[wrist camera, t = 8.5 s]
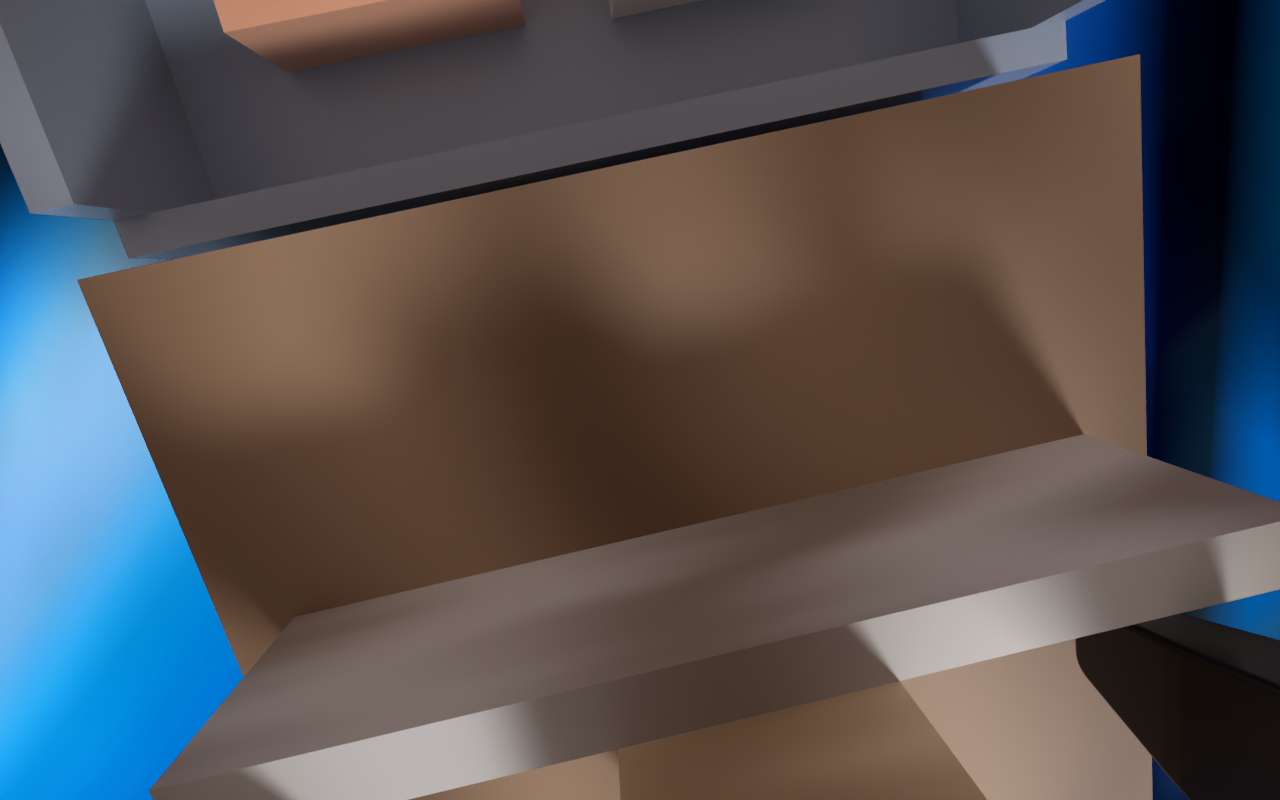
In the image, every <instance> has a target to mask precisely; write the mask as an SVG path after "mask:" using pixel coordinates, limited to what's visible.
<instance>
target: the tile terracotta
mask: <svg viewBox="0 0 1280 800" xmlns="http://www.w3.org/2000/svg"><path fill="white" fill-rule="evenodd" d="M213 1H214V4H215V7H216V10H217V13H218V16H219V19H220V22H221V25H222V28H223V31H224V33H225V34H227V35H229V36H230V37H232V38H233V39H235V40H237V41H238V42H240V43H241V44H243V45H245V46H246V47H248V48H249V49H251V50H253V51H254V52H256V53H257V54H259V55H261V56H262V57H264V58H265V59H267V60H269V61H270V62H272V63H273V64H275V65H276V66H278V67H280V68H281V69H283V70H284V71H286V72H291V71H296V70H301V69H306V68H311V67H316V66H321V65H326V64H331V63H336V62H341V61H346V60H351V59H356V58H361V57H366V56H371V55H376V54H381V53H386V52H391V51H396V50H401V49H406V48H411V47H416V46H421V45H426V44H431V43H436V42H441V41H446V40H451V39H456V38H461V37H466V36H471V35H476V34H481V33H486V32H491V31H496V30H501V29H506V28H511V27H516V26H521V25H526V23H525V18H524V14H523V9H522V5H521V0H213Z"/></svg>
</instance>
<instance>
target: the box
mask: <svg viewBox="0 0 1280 800" xmlns="http://www.w3.org/2000/svg"><path fill="white" fill-rule="evenodd" d="M1103 1H1105V0H701V1H696V2H691V3H687V4H682V5H677V6H672V7H667V8H663V9H658V10H653V11H648V12H643V13H638V14H634V15H629V16H624V17H619V18H614V19H612V17H611V12H610V7H609V2H608V0H521V5H522V9H523V14H524V18H525V23H526V25H521V26H516V27H511V28H506V29H501V30H496V31H491V32H486V33H481V34H476V35H471V36H466V37H461V38H456V39H451V40H446V41H441V42H436V43H431V44H426V45H421V46H416V47H411V48H406V49H401V50H396V51H391V52H386V53H381V54H376V55H371V56H366V57H361V58H356V59H351V60H346V61H341V62H336V63H331V64H326V65H321V66H316V67H311V68H306V69H301V70H296V71H291V72H286V71H284V70H283V69H281V68H280V67H278V66H276V65H275V64H273V63H272V62H270V61H269V60H267V59H265V58H264V57H262V56H261V55H259V54H257V53H256V52H254V51H253V50H251V49H249V48H248V47H246V46H245V45H243V44H241V43H240V42H238V41H237V40H235V39H233V38H232V37H230V36H229V35H227V34H225V33H224V31H223V28H222V25H221V22H220V19H219V16H218V13H217V10H216V7H215V4H214V1H213V0H0V144H1V146H2V148H3V151H4V153H5V156H6V158H7V160H8V163H9V165H10V167H11V170H12V172H13V174H14V177H15V179H16V181H17V184H18V186H19V188H20V191H21V193H22V195H23V198H24V200H25V202H26V205H27V207H28V209H29V212H30V213H32V214H43V215H55V216H66V217H77V218H88V219H100V220H111V221H114V223H115V225H116V228H117V230H118V233H119V235H120V238H121V240H122V243H123V245H124V248H125V250H126V253H127V255H128V258H153V259H178V258H183V257H187V256H192V255H197V254H201V253H206V252H211V251H216V250H220V249H225V248H230V247H234V246H239V245H244V244H249V243H253V242H258V241H263V240H267V239H272V238H277V237H281V236H286V235H291V234H296V233H300V232H305V231H310V230H314V229H319V228H324V227H329V226H333V225H338V224H343V223H347V222H352V221H357V220H362V219H366V218H371V217H376V216H380V215H385V214H390V213H394V212H399V211H404V210H409V209H413V208H418V207H423V206H427V205H432V204H437V203H442V202H446V201H451V200H456V199H460V198H465V197H470V196H474V195H479V194H484V193H489V192H493V191H498V190H503V189H507V188H512V187H517V186H522V185H526V184H531V183H536V182H540V181H545V180H550V179H554V178H559V177H564V176H569V175H573V174H578V173H583V172H587V171H592V170H597V169H602V168H606V167H611V166H616V165H620V164H625V163H630V162H634V161H639V160H644V159H649V158H653V157H658V156H663V155H667V154H672V153H677V152H682V151H686V150H691V149H696V148H700V147H705V146H710V145H714V144H719V143H724V142H729V141H733V140H738V139H743V138H747V137H752V136H757V135H762V134H766V133H771V132H776V131H780V130H785V129H790V128H795V127H799V126H804V125H809V124H813V123H818V122H823V121H827V120H832V119H837V118H842V117H846V116H851V115H856V114H860V113H865V112H870V111H875V110H879V109H884V108H889V107H893V106H898V105H903V104H907V103H912V102H917V101H922V100H926V99H931V98H936V97H940V96H945V95H950V94H955V93H959V92H964V91H969V90H973V89H978V88H983V87H987V86H992V85H997V84H1002V83H1006V82H1011V81H1016V80H1020V79H1022V78H1025V77H1027V76H1029V75H1032V74H1034V73H1036V72H1039V71H1041V70H1043V69H1046V68H1048V67H1050V66H1053V65H1055V64H1057V63H1060V62H1062V61H1064V60H1067V44H1066V20H1068V19H1070V18H1072V17H1074V16H1076V15H1078V14H1080V13H1082V12H1084V11H1086V10H1088V9H1090V8H1092V7H1093V6H1095V5H1097V4H1099V3H1101V2H1103Z"/></svg>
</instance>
